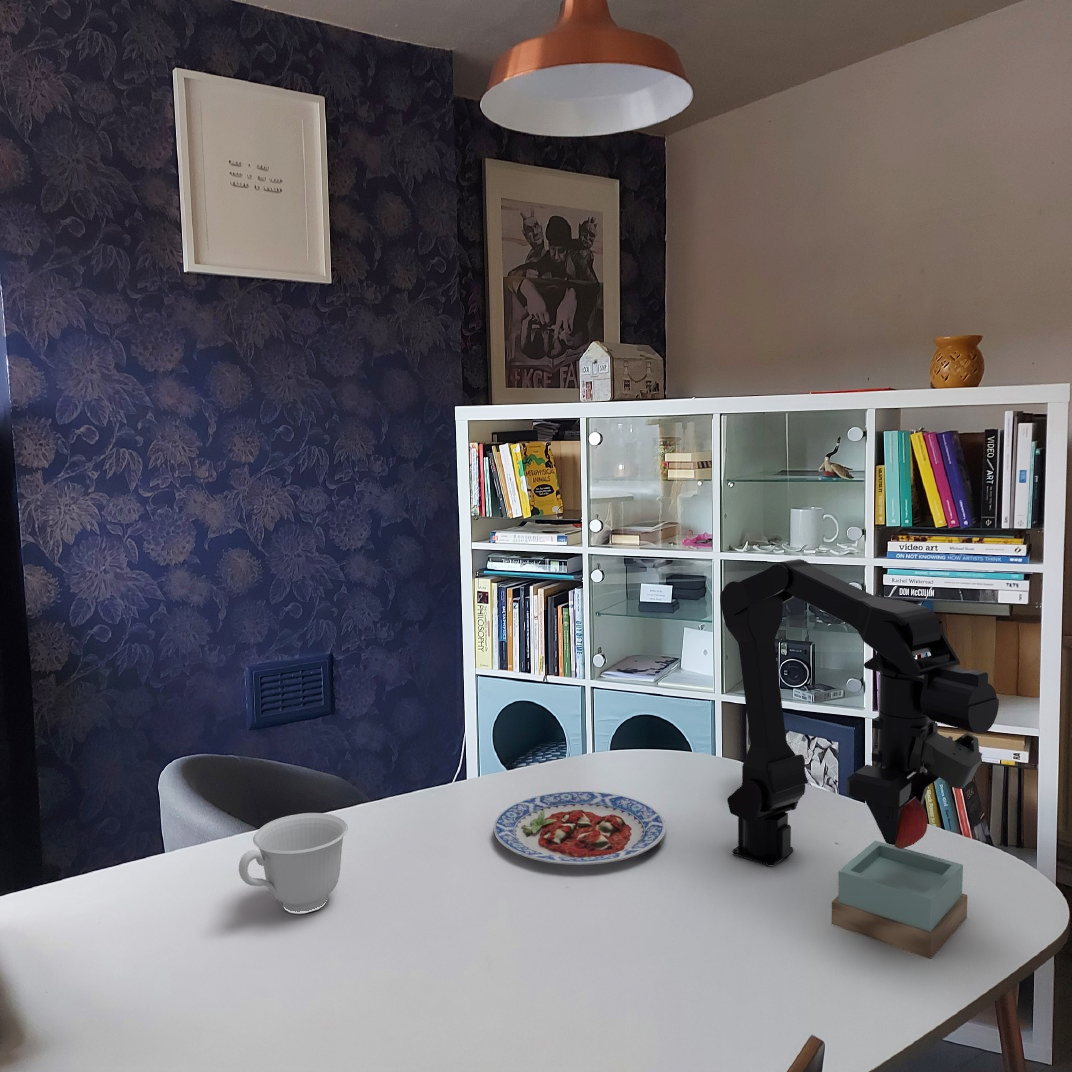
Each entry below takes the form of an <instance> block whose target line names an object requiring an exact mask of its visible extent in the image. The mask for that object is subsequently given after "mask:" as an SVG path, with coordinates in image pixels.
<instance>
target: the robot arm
mask: <svg viewBox="0 0 1072 1072" xmlns="http://www.w3.org/2000/svg"><path fill="white" fill-rule="evenodd" d="M793 598H796V599H799V600H800V601H802V602H804V603H805V604H806V603H807V604H808V605H811V606H812V607H814V608H816V609H818V610H820V611H822V612H823V613H826V614H827V615H830V616H831V617H833V618H835V619H837V620H839V621H841V622H843V623H845V624H846V625H848V626H850V627H851V628H853V629H854V630H855V631H857V633H858V634H859V636H860V638H861V640H862V641H863V643H865V644H866V645H867V646H869V647H870V648H871V649H872V650H874V651H875V652H876V653H875V654H874V656H873V657H871V658H870V659H868V660H867V661H865V662H864V664H863V667H864V668H865V670H871V671H875V672H878V673H879V684H878V685H879V687H878V688H879V689H878V690H879V691H878V695H879V697H878V716H877V717H875V718H873V719H872V721H871V722H872V723H871V724H872V727H871V728H872V729H877V730H878V733H877V736H878V737H877V748H876V749H875V750H874V751H872V752H871V762H876V763H880V764H881V767H880V766H879V767H878V766H875V765H871V764H865V765H864V766H862V767H861V768H858V770H856V771H855V772H854V773H852V774H851V775H849V776H848V777H847V778H846V794H847V795H848V797H852V798H856V799H860V800H864V802H865V804H866V805H867V807H868V809H869V811H870V812H871V815H872V817H873V819H874V821H875V823H876V825H878V826H877V827H879V828H878V829H880V830H879V832H880V834H881V835H882V837H883V839H884V843H886V844H890V845H893V846H894V845H895V844H896V841H897V837H898V832H899V827H900V821H901V816H902V811H903V806H905V805H907V804H908V803H909V802H910V801H912V800H913V799H914V798H915V797H916V798H917V799H918V800H919V801H920V803H921V804H922V805H923V806H924V801H925V798H926V795H927V792H928V790H929V787H930V785H931V784H933V783H935V782H936V781H937V780H939V779H941V780H943V781H944V782H946V783H947V785H949V786H950V787H952V788H955V789H958V790H962V789H964V788H965V787H966V786H967V785H968V784H969V783H971V782H972V780H973V778H974V776H975V774H976V772H977V770H978V767H980V765H981V764H982V763H983V760H982V756H983V753H982V752H980V744H979V738H978V737H976V736H974V735H973V734H971V733H975V734H977V735H978V734H979V735H982V734H983V735H984V734H985V733H987V732H988V731H989V730H990V729H991V728H992V726H993V725H994V723H995V722H996V719H997V715H998V713H999V707H1000V703H999V701H1000V700H999V698H998V697H997V693H996V690H995V688H994V687H993V685H992V684H990V683H989V674H988V672H986V671H982V670H977V669H975V670H970V669H965V668H961V667H959V666H960V664H961V661H960V659H959V658H958V656H957V654H956V653H955V651H954V649H953V647H952V645H951V644H950V642H949V640H948V639H947V636H946V635H945V633H944V632H943V630H942V628H941V624H940V623H939V620H938V615H937V614H936V613H935V612H934V611H933V610H932V609H930V608H929V607H927V606H924V605H920V604H917V603H913V602H909V601H905V600H900V599H892V598H891V599H890V598H883V597H879V596H876V595H874V594H871V593H870V592H867V591H865V590H863V589H861V588H858V587H857V586H855V585H853V584H850V583H849V582H846V581H845V580H843V579H840V578H838V577H835V576H833V575H832V574H830V573H827V572H826V571H824V570H821V569H819V568H817V567H815V566H812V565H811V563H810V562H808V560H807V561H806V560H803V559H802V558H801V559H800V558H798V559H789V560H784V561H778V562H776V563H774V564H773V565H772V566H769V568H767V569H765V570H763V571H760V572H758V573H755V574H754V575H751V576H749V577H747V578H744V579H741V580H733V581H729V582H728V583H727V584H726V585H724V587H723V589H722V590H721V591H720V595H719V602H720V608H721V612H722V617H723V620H724V625H725V626H726V629H727V630H728V631H729V633H730V635H731V636H732V637H733V638H734V639H735V641H736V643H737V645H738V652H739V659H740V667H741V677H742V683H743V692H744V693H743V694H744V701H745V709H746V711H745V712H746V720H747V719H748V728H749V736H750V747H749V750H748V753H747V752H746V755H745V758H744V761H743V764H742V765H741V767H742V768H741V769H742V771H741V772H742V773H741V774H742V776H741V777H742V778H741V780H742V781H741V786H739V788H737V789H736V790H735V791H734V792H733V793H732V794H731V795H729V796H728V797H727V798H726V799H727V800H726V801H727V804H728V805H727V806H728V809H729V813H730V814H731V815H734V816H736V817H737V832H738V833H737V838H738V839H737V846H736V847H734V848H733V849H732V851H731V852H732V854H733V855H735V856H738V857H741V858H744V859H748V860H751V861H753V862H757V863H760V864H763V865H765V866H766V865H767V866H770V867H774V866H775V865H777V864H778V863H780V862H781V861H782V860H783V859H785V858H786V857H787V856H789V855H790V854H792V853H793V852H794V847H793V846H792V842H791V841H792V832H791V831H792V826H791V825H790V824H789V813H788V812H789V811H795V810H796V809H797V806H798V803H799V801H800V800H801V799H802V797H803V796H804V795H805V792H806V784H809V780H808V778H807V775H806V774H807V773H806V768H805V767H806V766H805V765H806V760H805V757H804V755H803V754H796V753H795V751H794V750H793V748H792V747H791V746H790V744H788V741H787V737H786V735H787V734H786V726H785V719H784V717H785V716H784V711H783V710H784V709H783V702H782V694H781V685H780V676H779V669H778V667H779V666H778V661H777V652H776V643H775V641H776V637H777V634H778V631H779V629H780V627H781V624H782V622H783V615H784V614H783V613H784V612H783V610H784V609H783V608H784V607H783V606H784V605H783V604H784V603H786V602H788V601H789V600H792V599H793ZM927 653H930V654H931V655H927V656H924V657H919V658H915V656H919V655H922V654H927ZM939 724H943V725H945V726H946V725H947V726H949V727H953V728H957V729H960V730H962V731H967V732H965V733H964V734H962V735H960V736H959V737H958V738H956V739H955V740H954V737H953V736H951V735H950V736H949V735H948V737H947V736H945V735H943V734H939V732H938V725H939ZM969 732H970V733H969ZM910 794H912V795H910Z"/></svg>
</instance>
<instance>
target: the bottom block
mask: <svg viewBox="0 0 1072 1072" xmlns="http://www.w3.org/2000/svg"><path fill="white" fill-rule="evenodd" d="M966 919H968V894H965V893H962V896H961V897H960V899H959V900H958V901H957V902H956V903H955V904H954V905H953V907H952V908H951V909H950V910H949V911H948V912H947V913H946V915H945V916H944V917H943V918H942V919H941V920H940V921H939V923H938V924H937V925H936V926H935V927H934V928H933V929H932V931H931V932H928V931H925V930H922V929H919V928H916V927H913V926H910V925H907V924H904V923H901V922H898V921H895V920H891V919H888V918H885V917H882V916H879V915H876V914H873V913H870V912H867V911H864V910H861V909H858V908H855V907H852V906H848V905H845V904H842V903H839V902H838V896H837V897H835V898H834V899H833V900H832V901H831V925H833V926H837V927H839V928H842V929H844V930H848V931H850V932H852V933H856V934H859V935H861V936H864V937H867V938H870V939H873V940H876V941H878V942H881V943H884V944H887V945H890V946H893V947H896V948H897V949H901V950H904V951H907V952H910V953H912V954H915V955H917V956H921V957H924V958H925V959H926V958H927V959H930V960H931V959H932V958H933V957H934V956H935V955H936V954H937V953H938V951H939V950H940V949H941V948H942V947H943V946H944V945H945V943H946V942H947V941H948V940H949V938H951V936H952V935H953V934H954V933H955V931H957V929H958V928H959V927H960V926H961V925H962V924H963V923H964V921H965V920H966Z"/></svg>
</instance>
